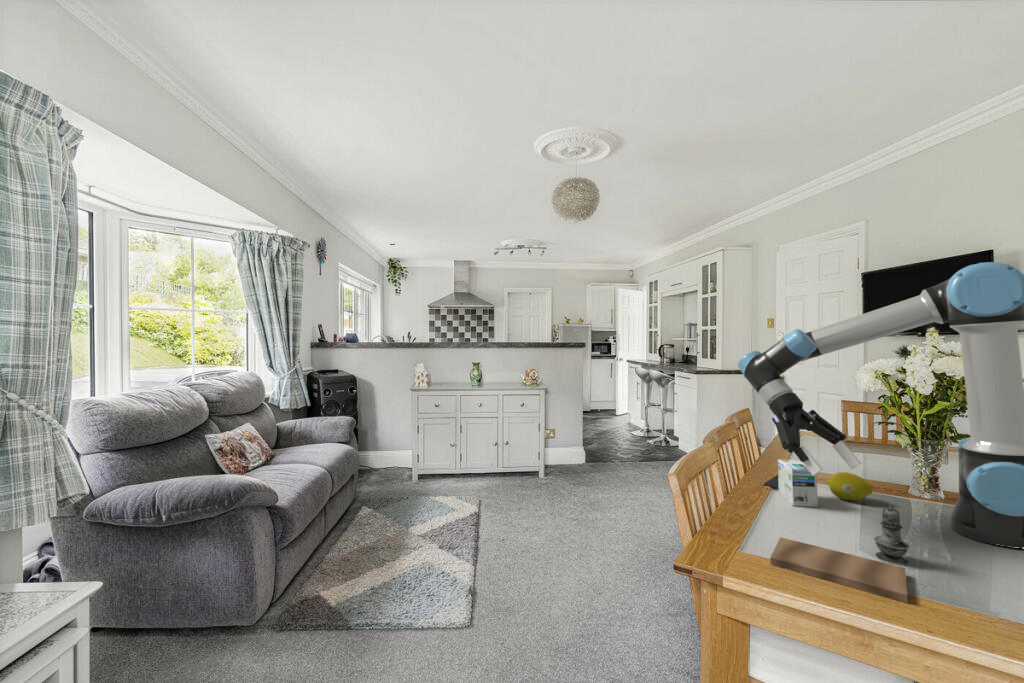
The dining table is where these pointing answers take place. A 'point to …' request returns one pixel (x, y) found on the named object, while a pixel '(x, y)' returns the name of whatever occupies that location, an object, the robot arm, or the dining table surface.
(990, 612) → the dining table surface
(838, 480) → the lemon
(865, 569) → the walnut board
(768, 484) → the smart home device
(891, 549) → the grey tall carved piece
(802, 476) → the light bulb box
